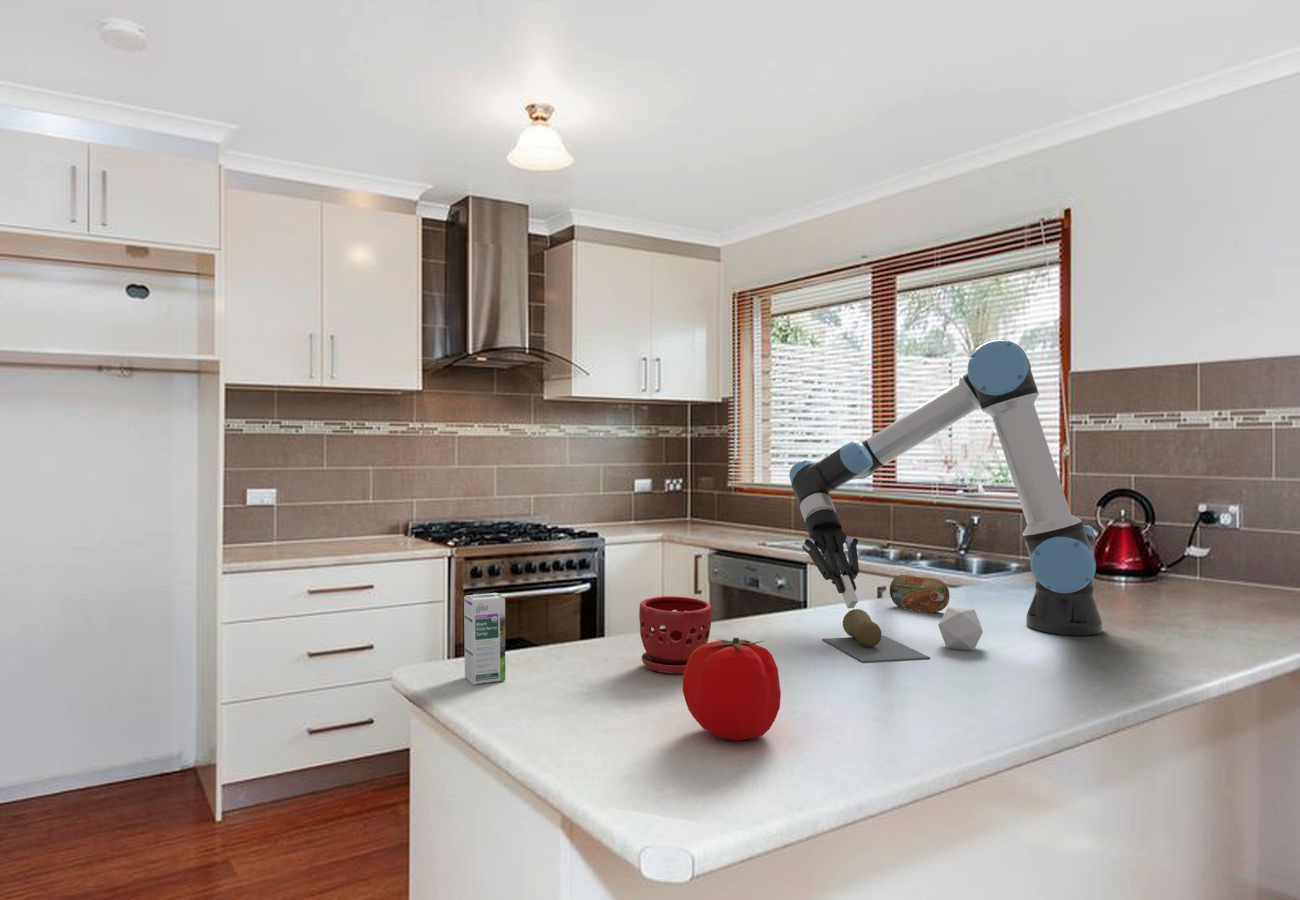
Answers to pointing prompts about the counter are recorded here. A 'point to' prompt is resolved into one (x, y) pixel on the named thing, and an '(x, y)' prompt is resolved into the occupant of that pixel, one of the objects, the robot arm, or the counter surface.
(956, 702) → the counter surface
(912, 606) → the tin
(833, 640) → the mat
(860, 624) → the cork
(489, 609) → the syrup box
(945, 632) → the die
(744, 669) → the tomato
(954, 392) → the robot arm
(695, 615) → the plant pot
